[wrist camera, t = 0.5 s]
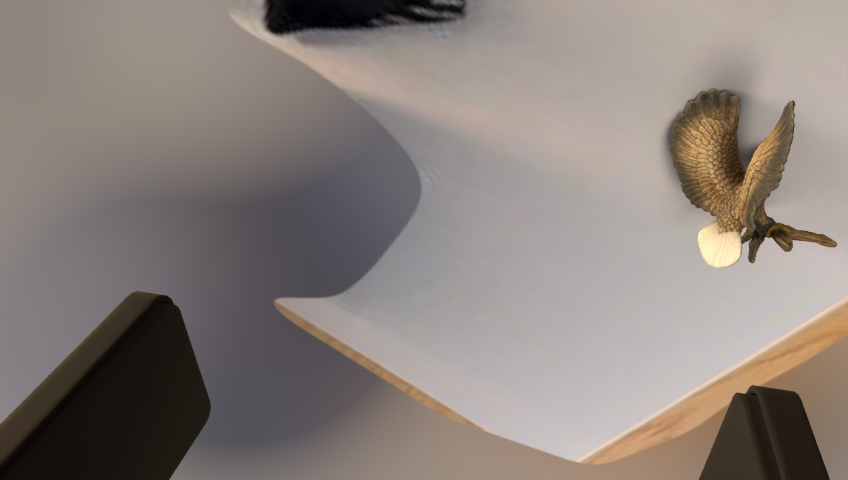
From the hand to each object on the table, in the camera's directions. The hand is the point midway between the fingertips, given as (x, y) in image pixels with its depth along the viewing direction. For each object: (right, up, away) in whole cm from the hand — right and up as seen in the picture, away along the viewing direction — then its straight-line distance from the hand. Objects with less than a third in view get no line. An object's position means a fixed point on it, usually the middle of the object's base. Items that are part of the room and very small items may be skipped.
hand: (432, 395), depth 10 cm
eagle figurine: (+19, +8, +25) cm, 32 cm away
